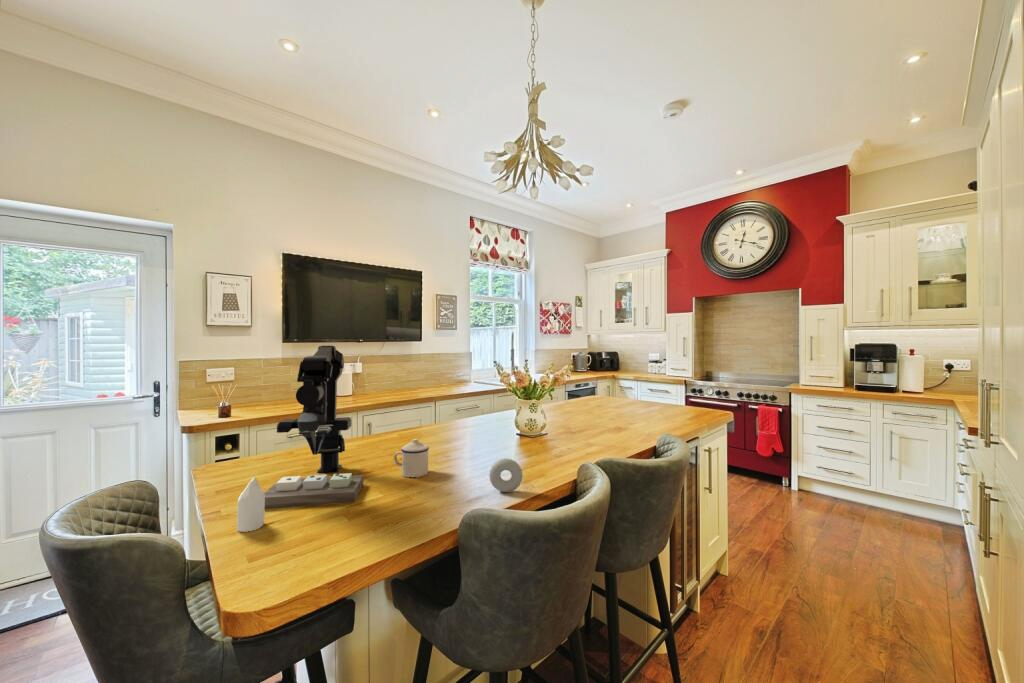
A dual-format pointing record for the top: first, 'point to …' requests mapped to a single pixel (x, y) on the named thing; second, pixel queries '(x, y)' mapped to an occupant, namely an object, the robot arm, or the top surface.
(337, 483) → the tile three
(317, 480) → the tile two
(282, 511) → the top surface
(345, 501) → the grey tray with tiles
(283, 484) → the tile one
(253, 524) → the white pointed wedge
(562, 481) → the top surface
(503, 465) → the donut
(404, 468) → the teacup with lid
